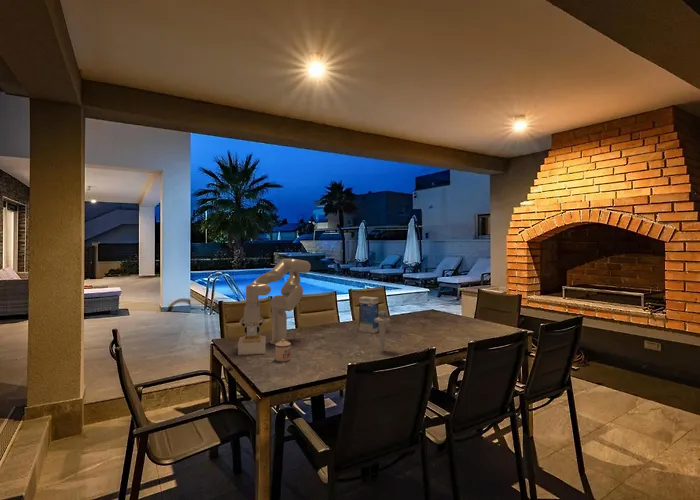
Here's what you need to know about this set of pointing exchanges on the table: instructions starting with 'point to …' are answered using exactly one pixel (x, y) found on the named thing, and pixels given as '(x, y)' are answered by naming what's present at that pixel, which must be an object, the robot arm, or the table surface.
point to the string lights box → (368, 314)
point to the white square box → (252, 345)
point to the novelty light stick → (382, 328)
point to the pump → (252, 329)
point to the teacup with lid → (283, 350)
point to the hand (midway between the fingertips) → (252, 333)
